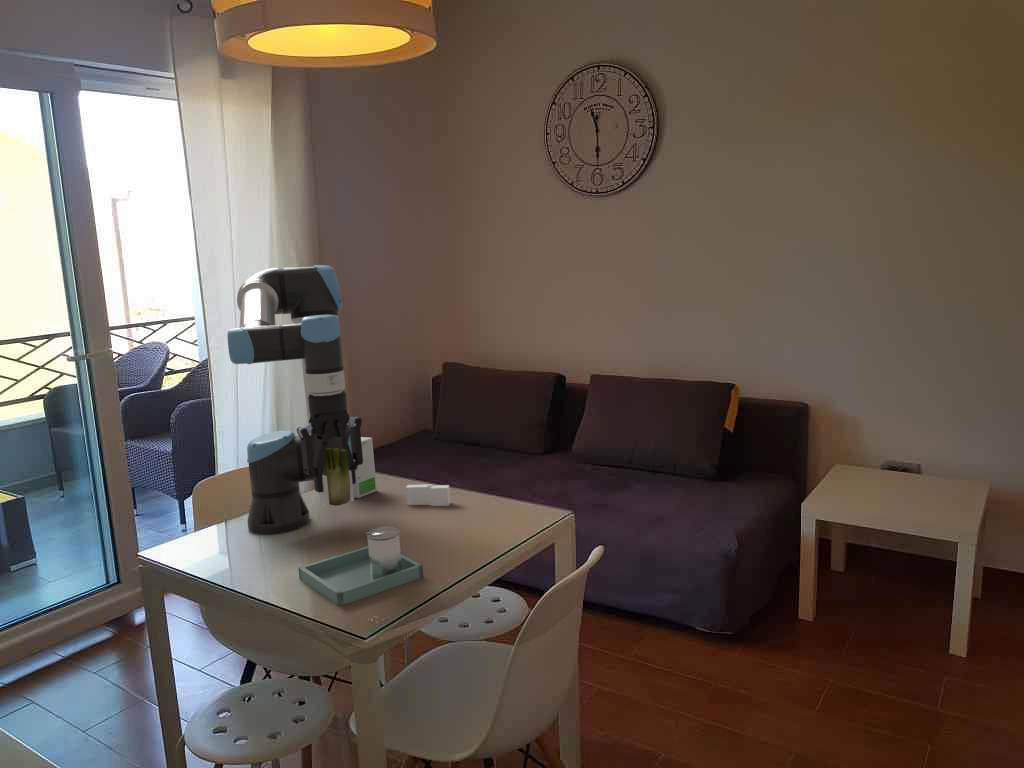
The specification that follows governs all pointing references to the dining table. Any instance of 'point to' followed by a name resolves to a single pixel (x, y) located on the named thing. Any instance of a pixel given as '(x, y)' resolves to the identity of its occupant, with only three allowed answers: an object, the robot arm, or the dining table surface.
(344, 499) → the fennel bulb
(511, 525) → the dining table surface
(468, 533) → the dining table surface
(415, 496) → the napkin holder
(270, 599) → the dining table surface
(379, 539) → the can
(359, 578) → the tray
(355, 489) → the skincare box
